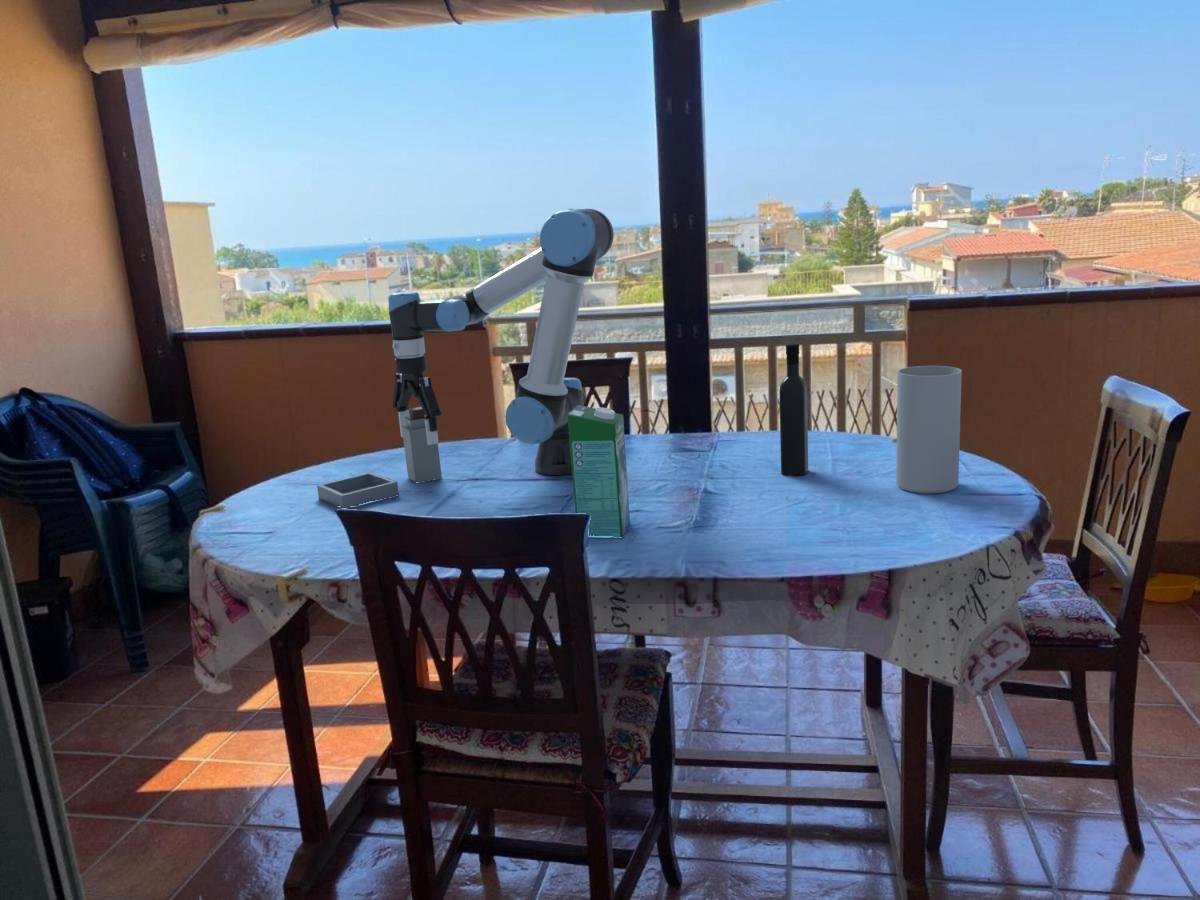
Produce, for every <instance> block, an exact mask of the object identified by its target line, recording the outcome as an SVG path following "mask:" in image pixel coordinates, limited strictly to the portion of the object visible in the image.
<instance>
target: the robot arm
mask: <svg viewBox="0 0 1200 900" xmlns="http://www.w3.org/2000/svg"><path fill="white" fill-rule="evenodd" d="M614 235H615V234H614V227H613V224H612V223H611V221H610V219H609V218H608V216H606V215H605V214H604V213H603V212H601V211H599V210H597V209H594V208H580V209H579V208H566V209H562V210H559V211H557V212H555V213H553V214H552V215H550V216H549V217H548V218H547V219H546V220H545V222H544V223H543V224H542V227H541V229H540V233H539V245H540V247H539V248H537V249H536V250H534V251H533V252H530V253H529V254H528V255H526V256H524V257H523V258H521V259H519V260H518V261H516V262H514V263H513V264H511V265H509V266H508V267H506V268H504V269H503V270H501V271H499V272H497V273H496V274H494V275H492V276H491V277H489V278H488V279H486V280H484V281H482V282H481V283H479V284H477V285H475V287H473V288H471V289H469V290H467V291H466V292H464V293H462V294H459V295H455V296H451V297H444V298H441V299H440V298H438V299H421V297H420V294H419V292H418V291H401V292H393V293H390V294H389V295H388V315H389V321H390V327H391V335H392V346H391V347H392V349H393V355H394V356H395V359H394V364H395V372H396V373H394V378H395V380H394V381H395V382H394V383H395V384H394V390H393V391H394V392H393V398H392V408H393V409H396V412H397V414H398V424H399V429H400V437H401V438H403V432H402V426H407V424H406V421H405V419H404V418H405V417H410V414H409V409H410V408H409V404H410V401H411V397H412V395H413V396H414V397H415V398H416V399H417V401H418V403H419V405H420V407H422V409H423V411H424V413H425V415H426V417H425V418H424V419H425V427H426V436H427V445H432V444H437V443H438V444H439V443H440V442H439V434H438V424H437V418H438V417H440V416H441V415H442V412H441V409H440V406H439V403H438V401H437V397H436V395H435V391H434V388H433V386H432V380H431V377H430V376H427V377H424V374H423V373H424V372H425V371H427V369H428V364H427V356H426V355H425V354H426V347H425V346H426V345H425V336H424V332H449V333H451V332H457V331H458V332H459V331H463V330H465V328H466V326H470V325H476V324H478V323H481V322H482V321H484V320H486V318H487V317H488V316H489V315H490V314H492V313H493V312H495V311H497V310H499V309H500V308H502V307H504V306H505V305H507V304H510V303H511V302H513V301H514V300H516V299H518V298H519V297H521V296H524V295H525V294H526V293H528V292H530V291H532V290H534V289H535V288H537V287H539V286H541V285H542V284H544V286H543V287H544V288H543V294H542V298H541V301H540V302H541V303H540V308H539V313H538V317H537V323H536V328H535V331H534V332H535V333H534V339H533V343H532V347H531V348H532V349H531V353H530V358H529V363H528V368H527V373H526V375H525V376H523V377H522V378H520V379H519V380H518V384H517V385H518V386H517V390H516V394H515V398H514V399H512V400H511V401H510V403H509V404H508V405H507V408H506V410H505V415H504V416H505V418H504V419H505V423H506V427H507V429H508V430H509V431H510V433H511V434H512V436H513V437H514V438H515V439H517V440H518V441H520V442H521V443H524V444H529V445H537V444H538V445H537V451H536V456H535V459H534V470H535V472H537V473H539V474H542V475H546V476H565V475H572V465H571V452H570V440H569V427H568V414H569V413H570V412H571V411H572V410H573V409H574V408H576V407H577V406H578V405H582V406H584V395H583V394H584V390H583V387H582V382H581V380H580V379H579V378H578V377H565V375H566V370H567V367H568V366H567V365H568V361H569V357H570V351H571V347H572V343H573V337H574V333H575V328H576V323H577V319H578V315H579V310H580V305H581V301H582V295H583V291H584V285H585V283H586V282H587V281H589V280H590V279H591V278H593V276H594V272H595V267H596V262H597V260H599V259H602V258H603V257H604V256H605V255H606V254H607V253H608V252H609V251H610V249H611V247H612V245H613V242H614V237H615V236H614Z"/></svg>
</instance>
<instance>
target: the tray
mask: <svg viewBox="0 0 1200 900" xmlns="http://www.w3.org/2000/svg"><path fill="white" fill-rule="evenodd" d="M316 488H317V495H318V500H320V501H322V502H324V501H325V502H324V503H326V502H327V503H326V504H328V503H329V505H330V506H333V507H335V506H336V507H335V508H337V509H339V508H338V507H337V506H341V507H340V508H352V509H354V508H353V507H350V506H358V505H359V504H363V503H366V502H369V501H375V500H380V499H384V498H389V497H393V496H396V495H399V496H400V492H399V484H398V481H397V480H396V481H395V480H393V479H390V478H387V477H384V476H383V475H379V474H376V473H374V472H365V473H363V474H358V475H353V476H349V477H346V478H341V479H337V480H333V481H329V482H325V483H320V484H317V485H316ZM393 498H394V497H393ZM389 499H390V498H389Z"/></svg>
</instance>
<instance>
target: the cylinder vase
mask: <svg viewBox="0 0 1200 900" xmlns="http://www.w3.org/2000/svg"><path fill="white" fill-rule="evenodd" d="M962 372H963V371H962V369H961V368H958V367H954V366H946V365H919V366H907V367H904V368H903V367H902V368H901V369H898V370H897V383H896V384H897V389H896V390H897V393H896V394H897V395H896V396H897V397H896V402H897V403H896V408H897V409H896V478H895V480H896V485H897V486H898V487H899V489H902V490H904V491H906V492H910V493H917V494H924V495H925V494H927V495H929V494H930V495H933V494H935V495H936V494H944V493H949V492H952V491H954V490H955V489H957V487H959V482H960V481H959V480H960V479H959V475H960V471H959V470H960V447H961V446H960V437H961V409H962V408H961V405H962V404H961V403H962V377H963V376H962Z"/></svg>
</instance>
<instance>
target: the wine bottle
mask: <svg viewBox="0 0 1200 900" xmlns="http://www.w3.org/2000/svg"><path fill="white" fill-rule="evenodd" d="M785 355H786V376H785V377H784V379H782V382H781V384H780V386H779V394H778V395H779V396H778V397H779V399H778V400H779V428H780V429H779V432H780V433H779V435H780V439H779V440H780V473H781V474H782V475H783V476H784V475H785V476H805V475H806V474H807V472H808V471H809V434H808V433H809V431H808V430H809V422H808V421H809V419H808V418H809V415H808V414H809V413H808V386H807V383H806V381H805V380H804V378H803V377H802V376H800V358H799V357H800V356H799V355H800V344H799V343H787V344H785Z"/></svg>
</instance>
